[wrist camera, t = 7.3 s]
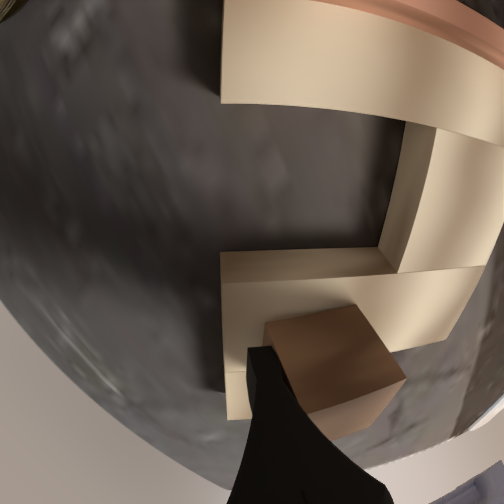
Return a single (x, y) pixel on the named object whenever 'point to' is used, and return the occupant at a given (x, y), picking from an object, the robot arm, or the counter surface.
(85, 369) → the counter surface
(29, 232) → the counter surface
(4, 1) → the cup
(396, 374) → the walnut cube
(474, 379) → the counter surface
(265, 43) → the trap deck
